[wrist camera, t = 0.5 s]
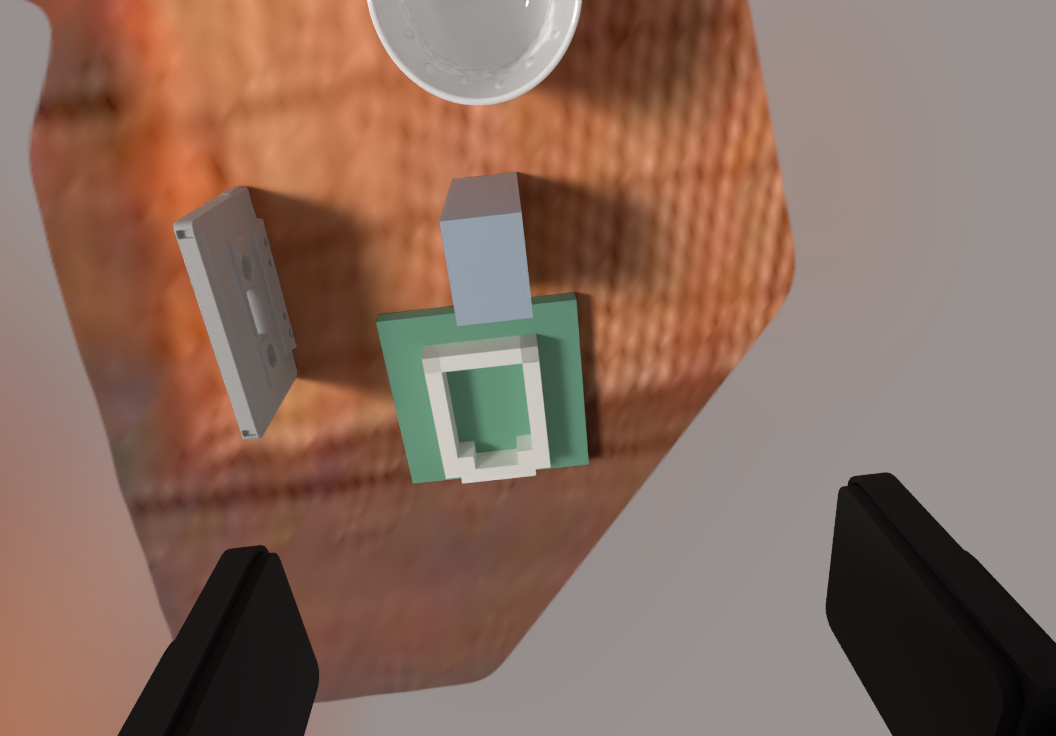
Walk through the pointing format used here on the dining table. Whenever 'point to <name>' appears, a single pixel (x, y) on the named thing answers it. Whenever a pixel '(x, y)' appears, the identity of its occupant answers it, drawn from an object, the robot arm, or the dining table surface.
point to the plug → (486, 249)
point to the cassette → (240, 305)
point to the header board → (487, 391)
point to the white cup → (476, 44)
